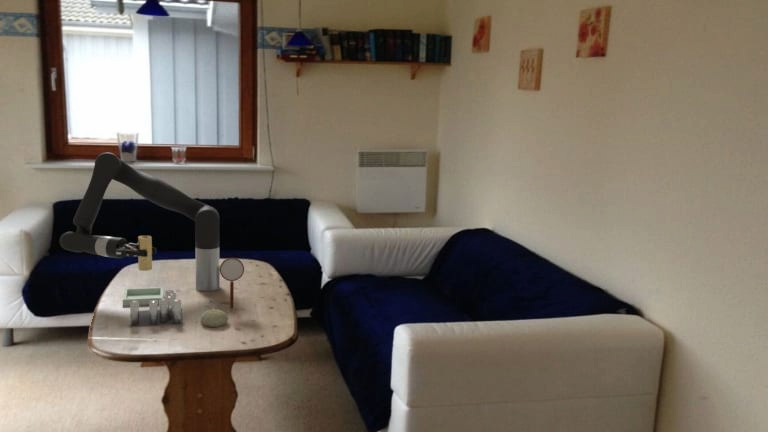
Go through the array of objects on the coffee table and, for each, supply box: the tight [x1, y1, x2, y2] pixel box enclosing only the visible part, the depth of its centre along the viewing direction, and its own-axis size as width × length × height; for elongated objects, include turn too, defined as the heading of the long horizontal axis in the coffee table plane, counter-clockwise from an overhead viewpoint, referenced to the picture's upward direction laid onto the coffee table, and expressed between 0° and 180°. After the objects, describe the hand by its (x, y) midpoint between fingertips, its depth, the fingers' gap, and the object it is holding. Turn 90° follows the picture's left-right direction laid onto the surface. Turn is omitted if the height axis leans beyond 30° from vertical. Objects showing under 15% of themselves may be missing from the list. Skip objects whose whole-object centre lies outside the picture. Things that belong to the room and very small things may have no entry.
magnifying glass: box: [219, 257, 245, 312], centre depth 253 cm, size 9×2×20 cm, turn 102°
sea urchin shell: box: [199, 308, 229, 328], centre depth 240 cm, size 9×8×8 cm
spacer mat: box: [129, 308, 184, 328], centre depth 242 cm, size 17×17×1 cm
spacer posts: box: [129, 289, 182, 326], centre depth 240 cm, size 16×14×8 cm
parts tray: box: [122, 286, 164, 307], centre depth 261 cm, size 14×14×3 cm
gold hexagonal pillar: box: [137, 235, 153, 272], centre depth 251 cm, size 5×4×12 cm
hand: (151, 252), depth 251 cm, fingers closed on gold hexagonal pillar, 4 cm apart
